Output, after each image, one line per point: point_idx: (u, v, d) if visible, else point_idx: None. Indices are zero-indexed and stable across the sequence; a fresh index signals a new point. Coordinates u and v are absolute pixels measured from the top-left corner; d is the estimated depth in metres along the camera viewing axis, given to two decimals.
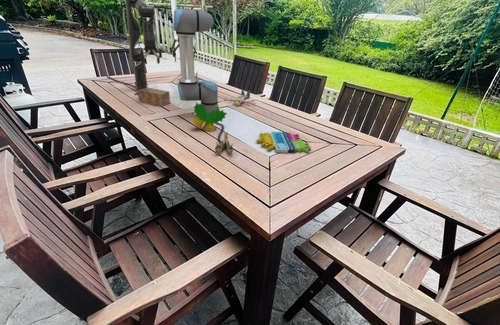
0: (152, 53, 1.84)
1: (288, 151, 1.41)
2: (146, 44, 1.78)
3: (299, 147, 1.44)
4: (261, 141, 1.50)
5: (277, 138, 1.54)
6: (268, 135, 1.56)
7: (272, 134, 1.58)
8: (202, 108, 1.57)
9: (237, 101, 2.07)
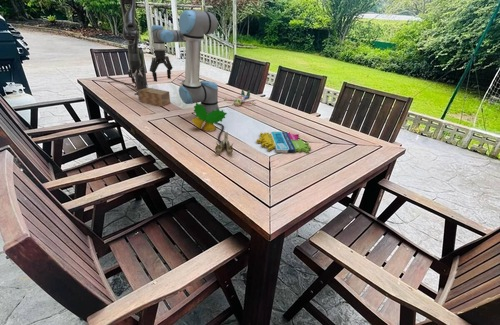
0: (138, 72, 1.99)
1: (288, 151, 1.41)
2: (134, 65, 1.93)
3: (299, 147, 1.44)
4: (261, 141, 1.50)
5: (277, 138, 1.54)
6: (268, 135, 1.56)
7: (272, 134, 1.58)
8: (202, 108, 1.57)
9: (237, 101, 2.07)
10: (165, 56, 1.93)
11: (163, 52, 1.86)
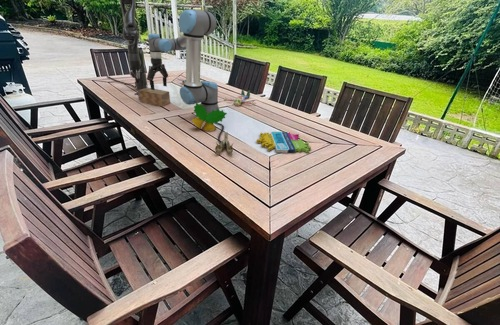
0: (136, 71, 1.98)
1: (288, 151, 1.41)
2: (134, 65, 1.93)
3: (299, 147, 1.44)
4: (261, 141, 1.50)
5: (277, 138, 1.54)
6: (268, 135, 1.56)
7: (272, 134, 1.58)
8: (202, 108, 1.57)
9: (237, 101, 2.07)
10: (161, 64, 1.93)
11: (160, 60, 1.85)
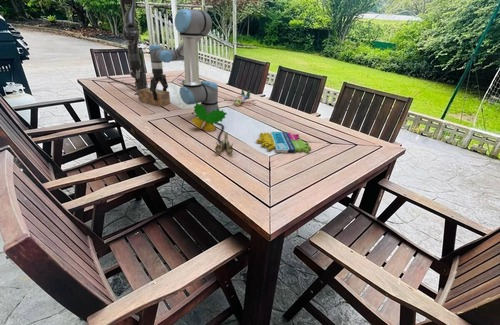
0: (136, 71, 1.98)
1: (288, 151, 1.41)
2: (134, 65, 1.93)
3: (299, 147, 1.44)
4: (261, 141, 1.50)
5: (277, 138, 1.54)
6: (268, 135, 1.56)
7: (272, 134, 1.58)
8: (202, 108, 1.57)
9: (237, 101, 2.07)
10: (162, 74, 1.97)
11: (161, 71, 1.89)
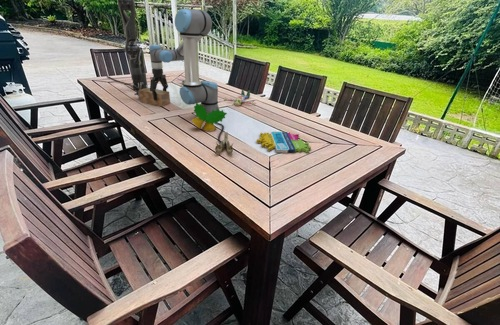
0: None
1: (288, 151, 1.41)
2: (136, 78, 1.98)
3: (299, 147, 1.44)
4: (261, 141, 1.50)
5: (277, 138, 1.54)
6: (268, 135, 1.56)
7: (272, 134, 1.58)
8: (202, 108, 1.57)
9: (237, 101, 2.07)
10: (162, 74, 1.97)
11: (161, 71, 1.89)
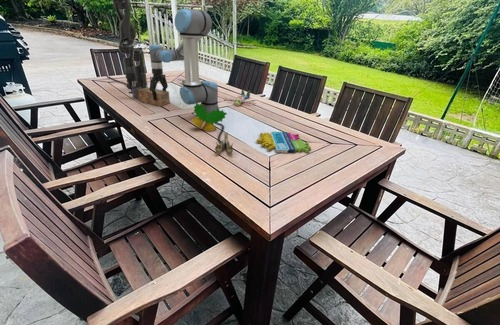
0: None
1: (288, 151, 1.41)
2: (130, 77, 1.99)
3: (299, 147, 1.44)
4: (261, 141, 1.50)
5: (277, 138, 1.54)
6: (268, 135, 1.56)
7: (272, 134, 1.58)
8: (202, 108, 1.57)
9: (237, 101, 2.07)
10: (162, 74, 1.97)
11: (161, 70, 1.89)
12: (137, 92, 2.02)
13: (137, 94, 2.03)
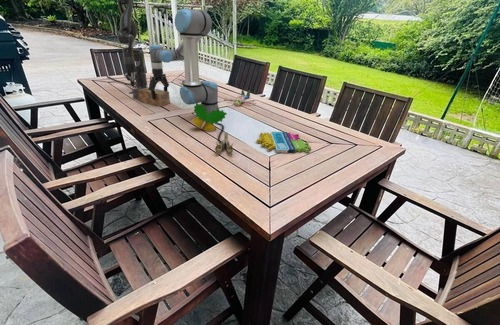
0: (131, 74, 2.01)
1: (288, 151, 1.41)
2: (129, 68, 1.96)
3: (299, 147, 1.44)
4: (261, 141, 1.50)
5: (277, 138, 1.54)
6: (268, 135, 1.56)
7: (272, 134, 1.58)
8: (202, 108, 1.57)
9: (237, 101, 2.07)
10: (162, 74, 1.96)
11: (161, 71, 1.89)
12: (137, 92, 2.02)
13: (137, 94, 2.03)
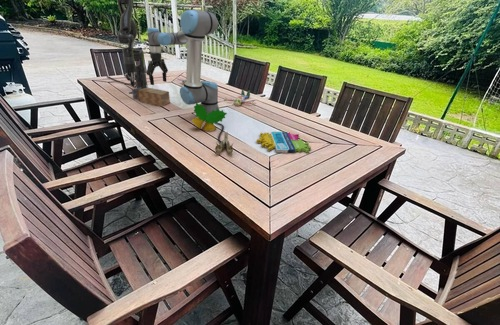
0: (131, 74, 2.01)
1: (288, 151, 1.41)
2: (129, 68, 1.96)
3: (299, 147, 1.44)
4: (261, 141, 1.50)
5: (277, 138, 1.54)
6: (268, 135, 1.56)
7: (272, 134, 1.58)
8: (202, 108, 1.57)
9: (237, 101, 2.07)
10: (160, 59, 1.91)
11: (159, 55, 1.84)
12: (137, 92, 2.02)
13: (137, 94, 2.03)
